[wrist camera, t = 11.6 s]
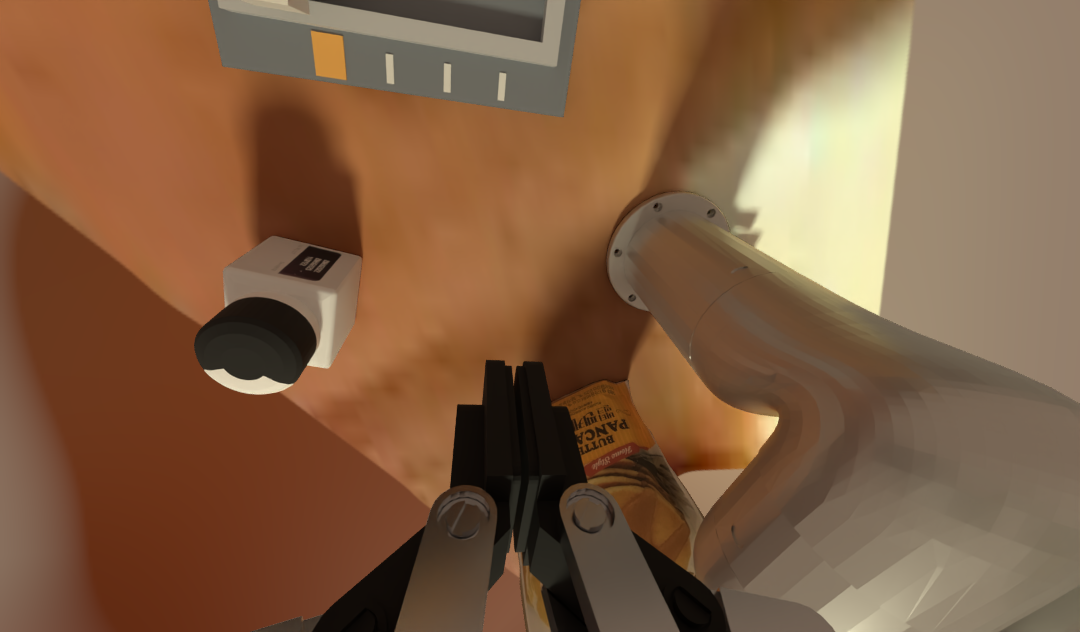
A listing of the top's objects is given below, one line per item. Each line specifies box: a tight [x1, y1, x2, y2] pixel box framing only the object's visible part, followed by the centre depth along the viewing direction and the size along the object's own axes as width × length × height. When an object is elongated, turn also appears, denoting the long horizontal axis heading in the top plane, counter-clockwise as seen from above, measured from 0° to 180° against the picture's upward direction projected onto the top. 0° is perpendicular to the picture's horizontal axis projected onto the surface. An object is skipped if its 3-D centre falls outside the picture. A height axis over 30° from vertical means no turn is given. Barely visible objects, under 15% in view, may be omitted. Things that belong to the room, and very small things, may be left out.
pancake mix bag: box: [518, 380, 704, 632], centre depth 38 cm, size 7×19×28 cm, turn 116°
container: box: [194, 236, 362, 394], centre depth 32 cm, size 8×8×13 cm
